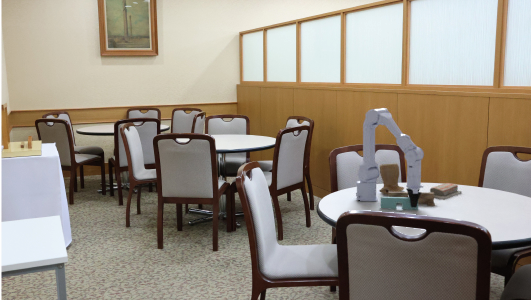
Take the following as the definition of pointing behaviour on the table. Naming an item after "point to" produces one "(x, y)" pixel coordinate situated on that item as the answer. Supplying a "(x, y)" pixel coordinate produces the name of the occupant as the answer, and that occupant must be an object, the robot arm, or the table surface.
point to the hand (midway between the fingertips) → (413, 205)
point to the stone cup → (390, 178)
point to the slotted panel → (391, 202)
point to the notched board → (423, 199)
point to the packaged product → (445, 190)
